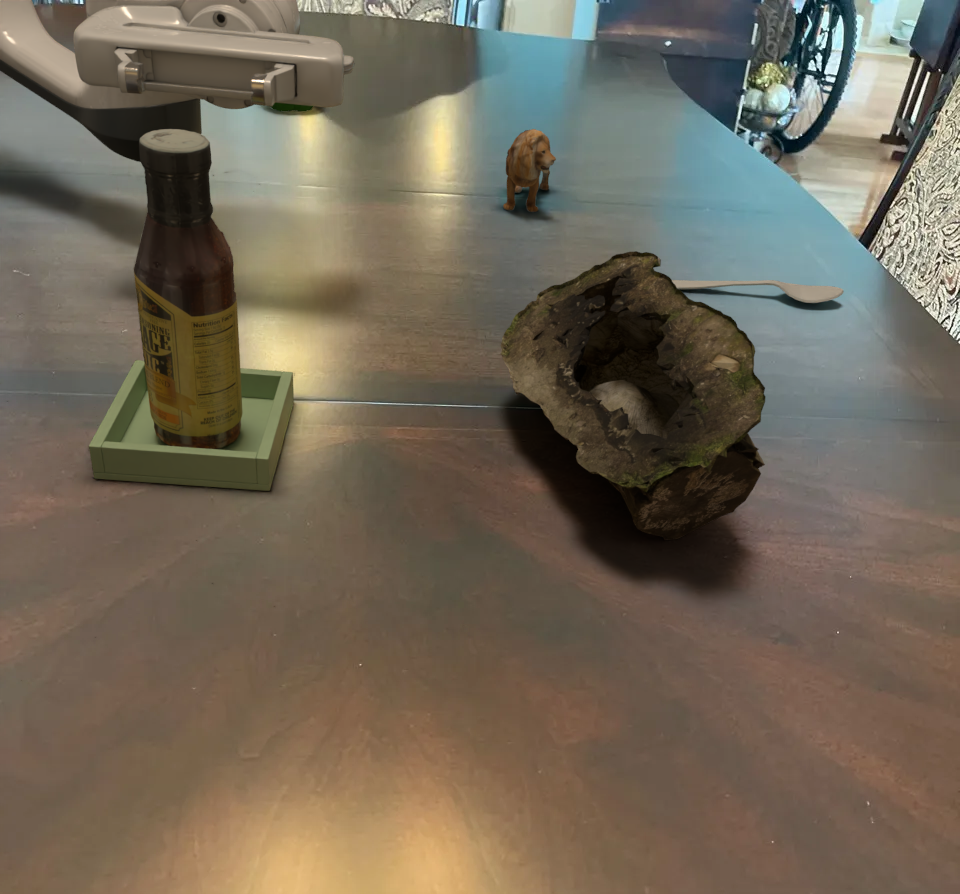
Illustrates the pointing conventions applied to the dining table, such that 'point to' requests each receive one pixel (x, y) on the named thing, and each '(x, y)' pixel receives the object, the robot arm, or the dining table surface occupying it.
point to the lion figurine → (528, 167)
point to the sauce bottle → (186, 298)
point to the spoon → (793, 290)
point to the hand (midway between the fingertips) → (195, 87)
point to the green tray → (242, 465)
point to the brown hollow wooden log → (644, 390)
